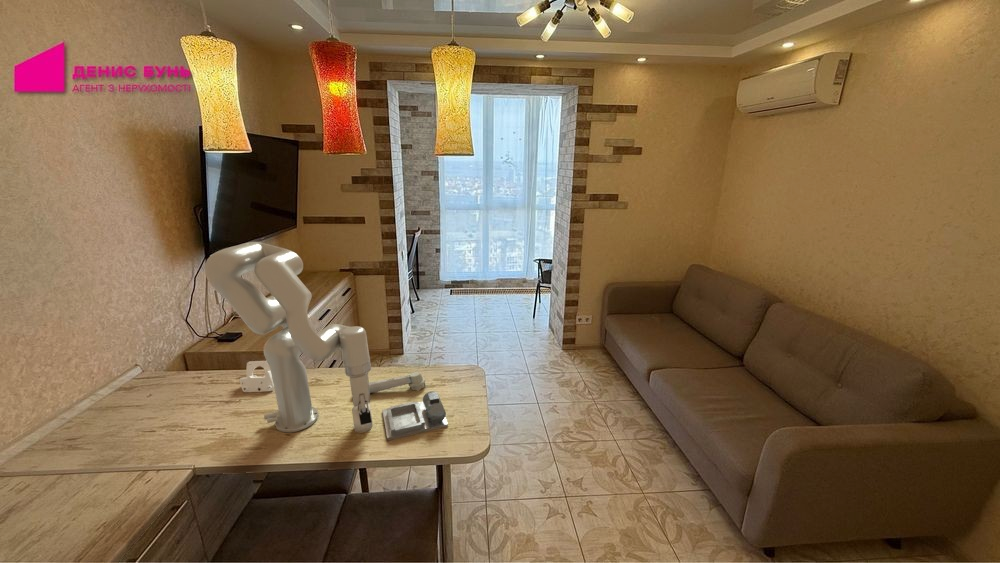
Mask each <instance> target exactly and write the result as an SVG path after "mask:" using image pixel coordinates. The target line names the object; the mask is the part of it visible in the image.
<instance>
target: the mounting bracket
mask: <svg viewBox="0 0 1000 563" xmlns="http://www.w3.org/2000/svg"><path fill="white" fill-rule="evenodd" d="M258 367H261V368H262V369H263V370H264V374H263V376H262V375H260V376H257V375H255V374H254V370H255V369H257V368H258ZM245 371H246V374H245V377H241V378H239V384H240V387H241V390H242V391H243V392H244V393H260V392H272V391H275V389H274V384H273V379H272V374H271V370H270V367H269V365H268V362H267V360H255V361H253V360H252V361H248V362H246V369H245ZM259 389H260V390H259Z"/></svg>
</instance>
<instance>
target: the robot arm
mask: <svg viewBox="0 0 1000 563" xmlns="http://www.w3.org/2000/svg"><path fill="white" fill-rule="evenodd" d="M303 269H304V262H303V259H302V257H300V256H299V255H298V254H297V253H296V252H295V251H293V250H290V249H287V248H284V247H280V246H275V245H273V244H268V243H264V242H260V241H249V242H245V243H241V244H238V245H233V246H230V247H225V248H222V249H219V250H218V251H215V252H214V253H212V254H211V255H210V256H209V257H208V258H207V260H206V261H205V265H204V273H205V277H206V279H207V281H208V283H209V285H210V286H211V287H212V288H213V289H214V291H216V292H217V293H218V294H219V295H220V296H221V297H222V298H223V299H225V300H226V301H227V303H228V304H229V305H230V307H231V308H232V309H233V310H234V312H235V313H236V314H237V315H238V316H239V318H240V319H241V320H242V321H243V322H244V323H245V325H246V326H247V327H248V328H249V329H250V331H251V332H253V333H254V334H256V335H266V334H269V333H270V332H272V331H274V330H276V329H277V328H280V327H282V329H281V330H280V331H278V332H277V333H275V334H273V335H272V336H270V337H269V338H268V339H267V341H266V342H265V343H264V346H263V356H264V358H265V361H267V362H268V365H269V367H270V370H271V374H272V381H273V384H274V393H275V400H276V404H277V409H278V410H275V411H273V412H267V413H264V414H263V419H264V420H265V421H267V423H268V424H269V423H274V425H275V428H276V429H277V430H278V431H279V432H281V433H282V432H283V433H295V432H299V431H303V430H305V429H307V428H308V427H311V426H312V425H313V424H314V423H315V422H316V421H317V420H318V418H319V411H318V409H317V408H316V407H313V406H312V399H311V398H312V397H311V392H310V386H309V380H308V379H309V378H308V373H307V368H306V365H305V364H304V363H303V362H302V360H301V359H300V356H301V355H302V354H304V355H305V356H306V357H307V358H309V359H310V360H313V361H315V362H323V361H325V360H327V359H329V358H330V357H331V356H332V355H333V354H334V353H335V352H336V351H338V350H340V349H341V350H340V351H341V354H342V361H343V367H344V372H345V375H346V376H347V377H349V384H350V390H351V398H352V405H353V407H354V406H355V407H356V406H358V405H359V412H360V413H359V417H360V423H361V425H363V424H367V423H371V422H372V423H373V420H372V421H371V414H372V413H371V414H370V410H369V407H368V404H370V402H371V393H370V388H369V383H370V380H369V373H370V372H371V370H372V365H371V358H370V352H369V345H368V336H367V331H366V330H365V328H364V327H362V326H348V325H344V324H343V325H342V324H339V323H331V324H329V325H327V326H325V327H324V328H322V329H321V330H319V331H318V332H317V328H316V327H315V325H314V324H313V323H312V321H311V320H310V318H309V317H308V311H309V306H310V303H311V300H312V298H313V295H312V292H311V291H310V290H309V288H308V287H307V286H306V285H305V284H304V283H303V282H302V280H301V279H300V278H299V277H298V275H300V274H301V273H302V271H303ZM253 271H254V274H255V277H256V278H257V279H258V281H259V282H260V283H261V284H262V285H263V287H264V288H265V289H266V290H267V291H268V293H269V294H271V295H270V296H269V297H266V296H265V295H264V294H263V292H262V291H261V290H260V288H259V287H257V285H255V283H253V282H251V281H249V279H248V280H247V279H245V278H243V277H242V275H245V274H249V273H250V272H253ZM365 405H366V406H367V408H366V406H365Z"/></svg>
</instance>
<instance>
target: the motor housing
mask: <svg viewBox="0 0 1000 563" xmlns="http://www.w3.org/2000/svg"><path fill="white" fill-rule="evenodd" d="M446 414H447V412H446V409H445V408H444V406H443V403H442V400H441V398H440V396H439V394H438V392H437V391H433V390H432V391H429V392H426V393H425V394H424V395H423V397H422V401H416V402H415V401H411V402H407V403H401V404H397V405H396V404H395V405H392V406H390V407H387V408H384V409H382V415H383V423H384V427H385V435H386V438H387V441H392V440H396V439H400V438H404V437H409V436H413V435H418V434H422V433H425V432H430V431H433V430H434V431H435V430H438V429H442V428H446V427H447V428H448V427H449V424H448V420H447V418H446Z"/></svg>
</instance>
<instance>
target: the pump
mask: <svg viewBox="0 0 1000 563" xmlns="http://www.w3.org/2000/svg"><path fill="white" fill-rule="evenodd" d="M365 406H366V405H365ZM368 407H369V410H370V414H371V421H372V422H371V423H367V424H363V425H361V423H360V417H359V413H360V412H359V405H358V406H356V407H355V406H354V405H353V407H352V408H351V412H352V413H351V414H352V420H353V421H352V422H353V429H354V431H355V432H357V433H361V434H362V433H366V432H369V431H370V430H371V429H372V428H373V426H374V425H373V416H372V406H371V404H370V403H369V404H368ZM366 408H367V406H366Z"/></svg>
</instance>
